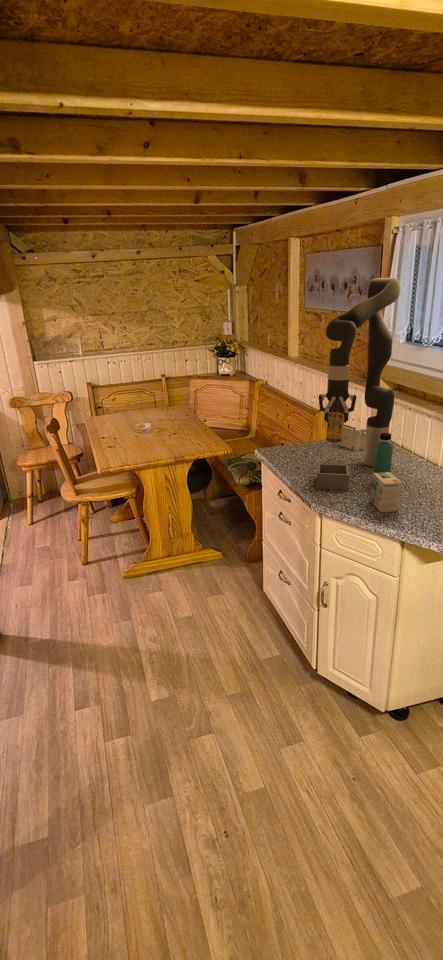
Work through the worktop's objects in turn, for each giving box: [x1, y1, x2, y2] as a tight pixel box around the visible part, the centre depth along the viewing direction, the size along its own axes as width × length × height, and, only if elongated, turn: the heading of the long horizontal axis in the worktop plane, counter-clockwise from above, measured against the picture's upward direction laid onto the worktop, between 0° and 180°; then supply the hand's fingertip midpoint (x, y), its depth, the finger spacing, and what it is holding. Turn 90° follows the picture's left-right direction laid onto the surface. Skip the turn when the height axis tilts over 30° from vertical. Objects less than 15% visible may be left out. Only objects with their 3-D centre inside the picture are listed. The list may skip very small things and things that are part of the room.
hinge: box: [339, 424, 366, 451], centre depth 241 cm, size 14×5×10 cm, turn 44°
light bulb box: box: [369, 471, 403, 513], centre depth 179 cm, size 11×7×11 cm, turn 5°
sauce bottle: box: [325, 392, 345, 444], centre depth 192 cm, size 6×6×20 cm
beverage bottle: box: [373, 432, 394, 473], centre depth 198 cm, size 6×7×20 cm
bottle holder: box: [316, 463, 350, 491], centre depth 201 cm, size 12×12×6 cm
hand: (336, 421), depth 193 cm, fingers closed on sauce bottle, 6 cm apart
